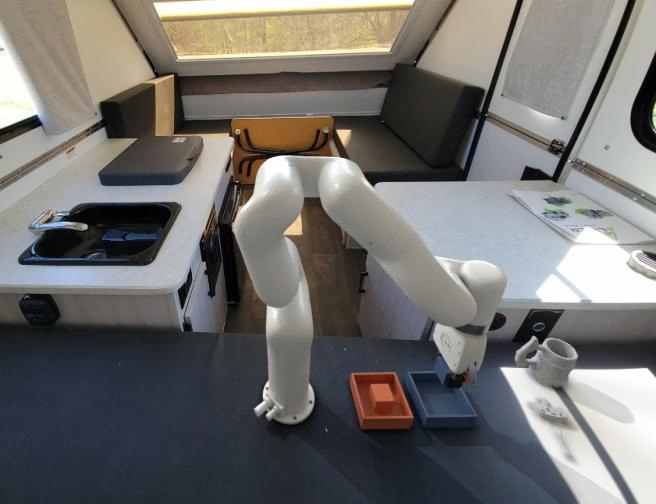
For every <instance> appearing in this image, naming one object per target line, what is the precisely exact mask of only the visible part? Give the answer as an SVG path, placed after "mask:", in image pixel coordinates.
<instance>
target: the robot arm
mask: <svg viewBox="0 0 656 504" xmlns="http://www.w3.org/2000/svg"><path fill="white" fill-rule="evenodd" d="M365 176H366V175H364V172H363V171H362V170H361V168H360V167H359V165H358V164H357V163H356V162H354V161H352V160H350V159H347V158H344V157H343V158H342V157H336V156H335V157H334V156H304V155H278V156H273V157H271V158H268V159H267V160H265V161H264V162H263V163H262V164H261V165H260V167H259V168H258V170H257V173H256V176H255V183H254V187H253V193H252V195H251V197H250V198H249V200H248V201H246V203H245V204H244V205H243V206H242V208H241V209H240V210H239V211H238V213H237V215H236V216H235V217H236V218H235V220H234V224H233V225H234V226H233V231H234V237H235V240H236V243H237V245H238V247H239V250H240V252H241V255H242V257H243V261H244V264H245V266H246V269H247V273H248V274H249V277H250V280H251V282H252V285H253V288H254V291H255V293H256V295H257V296H258V298H259V299H260V301H261V302H263V303H264V304H265V305H266V316H265V317H266V318H265V319H266V320H265V337H266V346H267V347H266V349H267V351H266V352H267V369H268V370H267V371H268V372H267V373H268V380H267V381H266V383H265V384H264V388H263V391H262V402H261V403H259V404H258V405H257V406H256V407H255V408H253V412H254V414H255V415H256V417H258V418H259V417H262V415H263V414H264V413H265V412H267V413H266V414H265V418H266V420H267V421H269V422H270V421H271V420H272V419H273V420H275V421H276V422H278V423H281V424H284V425H297V424H299V423H303V422H304V421H305V420H307V419H308V418H309V416H310V415H311V414H312V412H313V409H314V408H315V407H314V406H315V392H314V389H313V387H312V385H311V383H310V371H311V370H310V369H311V353H312V351H311V349H312V344H313V340H314V320H313V319H314V318H313V312H312V305H311V300H310V299H311V298H310V290H309V284H308V281H307V278H306V273H305V271H304V267H303V264H302V261H301V260H302V259H301V257H300V254H299V250H298V248H297V246H296V244H295V243H294V242H293V241H292V240H291V239H290V238H289V237H287V236H285V234H284V233H285V232H286V231H287V230H288V229H289V228H290V227H291V226H292V225H293V224H294V223H295V222H296V221H297V219H298V218H299V216H300V215H301V213H302V210H303V207H304V200H305V198H320V202H321V206H322V208H323V210H324V211H325V213H326V214H327V215H328V217H329V218H330V219H331V220H332V221H333V222H334V223H335V224H337V226H339V227H340V228H341V229H342V230H343V231H344V232H346V233H347V235H349V236H350V237H351V238H352V239H353V240H355V242H357V243H358V244H359V245H360V246H361V247H362V248H363V249H365V250H366V251H367V252H368V253H369V254H370V255H371V256H372V257H373V259H375V260H376V261H377V263H378V264H379V265H380V267H381V268H382V269H383V270H384V272H385V273H386V274H387V275H388V276H389V277H390V278H391V280H392V281H393V282H394V283H395V284H396V285H397V287H399V288H400V290H401V291H402V292H403V293H404V295H406V297H407V298H408V299H409V300H410V301H411V302H412V303H413V304H414V305H415V306H416V307H417V308H418V309H419V310H420V311H422V312H423V313H424V315H426V316H427V317H428V318H429V319H431V320H432V321H433V322H435V323H436V325H435V328H434V330H433V334H432V338H433V341H434V343H435V345H436V347H437V350H436V351H437V356H443V358H444V359H445V361H446V363H447V364H448V366H449V368H450V369H451V370H452V374H449V376H448V379H447V382H446V387H447V388H454V389H459V388H461V387H463V385H464V383H465V384H466V385H467V386H469V387H477V385H478V383H477V373H478V372H479V370H480V368H481V366H482V363H483V360H484V357H485V353H486V348H487V342H488V336H487V335H488V333H489V330H490V329H491V326H492V323H493V320H494V319H495V315H496V313H497V310H498V308H499V306H500V303H501V301H502V297H503V295H504V294H505V290H506V288H507V285H508V277H507V275H506V273H505V272H504V270H502V269H501V268H500V267H499V266H498V265H495V264H493V263H491V262H489V261H486V260H481V259H470V260H467V261H465V260H460V259H459V260H458V259H454V258H448V257H444V256H439V255H438V256H437V255H434V254H433V253H432V252H431V250H430V249H429V247H428V245H427V244H426V243H425V241H424V240H423V238H422V237H421V235H420V234H419V233H418V232H417V230H416V229H415V227H413V225H412V224H411V223H410V222H409V221H408V220H407V219H406V218H405V216H403V215H402V214H401V213H400V212H399V211H398V210H397V209H396V208H394V206H393V205H392V204H391V203H390V202H389V201H388V200H386V198H385V197H384V196H383V195H382V194H381V193H380V192H379V191H378V190H377V189H376V188H375V187H374V186H373V185H372V184H371V182H369V181H368V180H367V178H366V177H365ZM437 356H436V359H435V362H434V364H435V363H436V360H437Z"/></svg>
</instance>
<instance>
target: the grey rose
mask: <svg viewBox="0 0 656 504" xmlns="http://www.w3.org/2000/svg"><path fill="white" fill-rule="evenodd" d="M532 408H533V409H534V411H535V412H536V414H537V415H538V416H540V417H542V418H544V419H547V420H550V421H554V423H555V424H556V426H558V429H559V430H560V435H561V436H560V437H561V440H562V443H563V445H564V446H566V444H565V441H564V439H563V433H562V430H561V428H560V426H559V425H558V424H557V422H565V421H566V419H567V416H568V415H567V413H566V411H565V409H564V408H562V407H560V406H557V407H556V409H555V407H554V406H553V404H551V403H550V401H548V400H547V399H546V398H542V399H541V403H539V402H537V401H534V402H533V404H532ZM566 449H567V451H568V455H569V459H570V458H572V455H571V453H570V450H569V447H566Z"/></svg>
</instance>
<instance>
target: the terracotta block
mask: <svg viewBox="0 0 656 504" xmlns="http://www.w3.org/2000/svg"><path fill="white" fill-rule="evenodd" d="M369 397H370V401H371V404H372V407H373V411H374V412H392V409H393V405H394V402H395V401H394V398H393V395H392V393H391V390H390V387H389V384H371V386H370V391H369Z"/></svg>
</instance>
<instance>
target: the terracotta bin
mask: <svg viewBox="0 0 656 504" xmlns="http://www.w3.org/2000/svg"><path fill="white" fill-rule="evenodd" d="M371 384H389V387H390V390H391V393H392V395H393V398H394V401H395V402H394V405H393V409H392V412H374V411H373V407H372V404H371V401H370V397H369V391H370V386H371ZM349 386H350V390H351V393H352V397H353V398H352V399H353V402H354V406H355V409H356V414H357V417H358V421H359V425H360V429H361V430H398V429H399V430H400V429H401V430H405V429H407V430H409V429H411V428H412V425H413V421H414V419H415V418H414V415H413V412H412V410H411V408H410V405H409V402H408V400H407V398H406V395H405V393H404V390H403V387H402V384H401V383H400V380H399V378H398V375H397V372H393V371H391V372H389V371H388V372H386V371H385V372H351V373H350V378H349Z"/></svg>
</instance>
